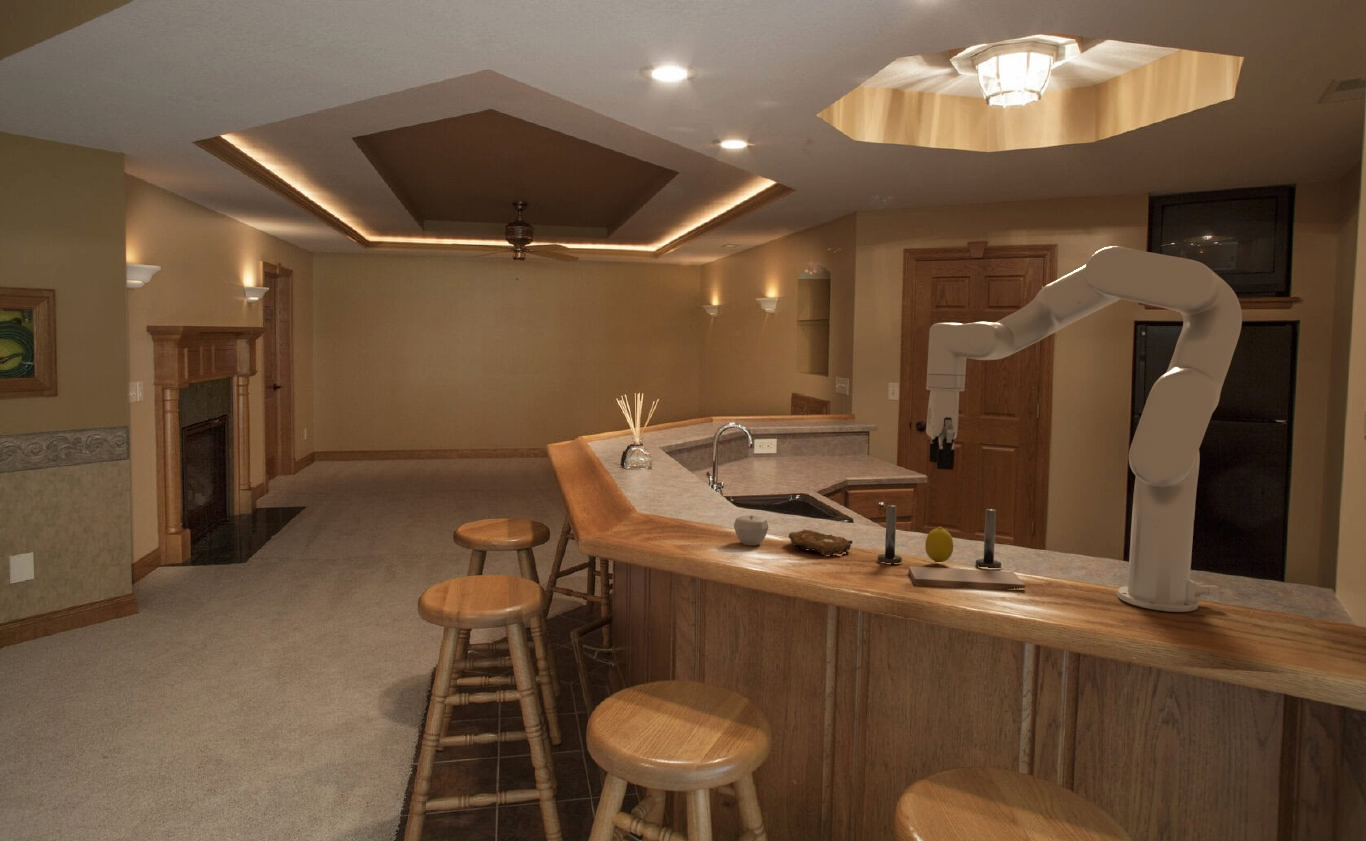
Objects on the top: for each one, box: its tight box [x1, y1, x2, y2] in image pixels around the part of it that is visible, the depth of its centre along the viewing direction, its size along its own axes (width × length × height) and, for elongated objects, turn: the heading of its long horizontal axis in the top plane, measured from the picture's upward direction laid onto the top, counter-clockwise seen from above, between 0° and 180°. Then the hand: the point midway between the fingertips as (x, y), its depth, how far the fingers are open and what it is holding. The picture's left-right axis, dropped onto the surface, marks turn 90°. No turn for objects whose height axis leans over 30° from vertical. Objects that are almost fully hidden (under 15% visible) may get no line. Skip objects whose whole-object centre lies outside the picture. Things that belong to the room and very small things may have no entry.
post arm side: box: [975, 508, 1002, 569], centre depth 167 cm, size 5×5×12 cm
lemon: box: [924, 526, 954, 563], centre depth 169 cm, size 6×6×8 cm
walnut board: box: [908, 565, 1026, 590], centre depth 157 cm, size 20×9×1 cm, turn 82°
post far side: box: [877, 504, 903, 564], centre depth 170 cm, size 5×5×12 cm
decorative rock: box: [788, 529, 853, 557], centre depth 181 cm, size 11×4×15 cm
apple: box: [733, 514, 769, 546], centre depth 185 cm, size 8×8×7 cm
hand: (940, 465), depth 168 cm, fingers open, 9 cm apart
